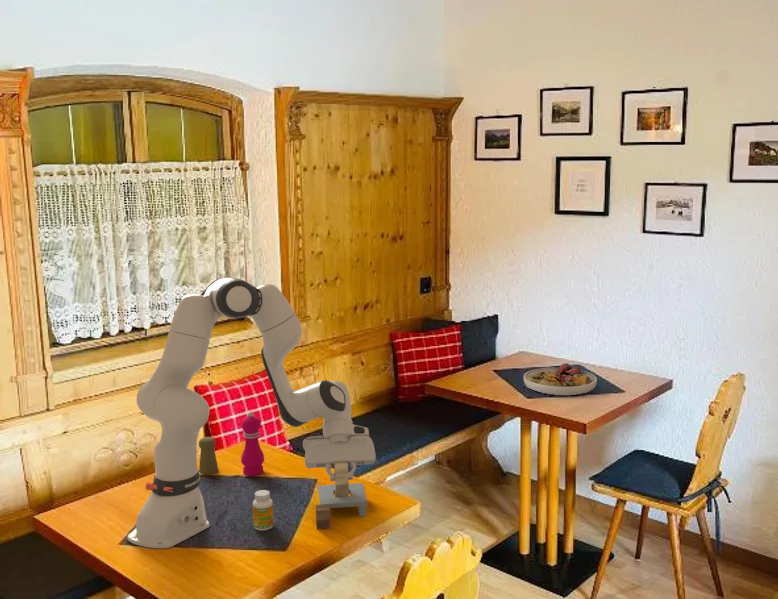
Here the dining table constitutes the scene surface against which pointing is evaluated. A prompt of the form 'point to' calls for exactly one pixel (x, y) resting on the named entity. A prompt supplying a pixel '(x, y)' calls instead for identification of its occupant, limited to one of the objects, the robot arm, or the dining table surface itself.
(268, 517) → the supplement bottle
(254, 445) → the pepper mill
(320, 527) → the walnut peg
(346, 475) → the maple peg
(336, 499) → the collar stand
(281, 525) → the dining table surface
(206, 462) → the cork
